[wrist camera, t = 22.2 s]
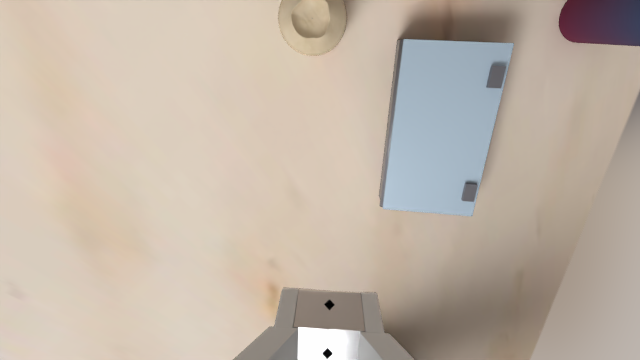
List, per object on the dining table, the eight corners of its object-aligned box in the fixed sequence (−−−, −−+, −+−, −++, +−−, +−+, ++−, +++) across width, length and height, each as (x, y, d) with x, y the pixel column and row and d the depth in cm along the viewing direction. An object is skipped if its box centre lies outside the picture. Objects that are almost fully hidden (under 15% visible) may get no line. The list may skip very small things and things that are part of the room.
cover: (468, 211, 37) (473, 218, 36) (379, 204, 38) (380, 210, 37) (508, 43, 31) (516, 43, 29) (399, 39, 32) (401, 38, 30)
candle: (323, -16, 32) (320, -43, 23) (353, 33, 34) (361, 26, 25) (280, 19, 34) (260, 7, 24) (311, 65, 35) (303, 70, 26)
